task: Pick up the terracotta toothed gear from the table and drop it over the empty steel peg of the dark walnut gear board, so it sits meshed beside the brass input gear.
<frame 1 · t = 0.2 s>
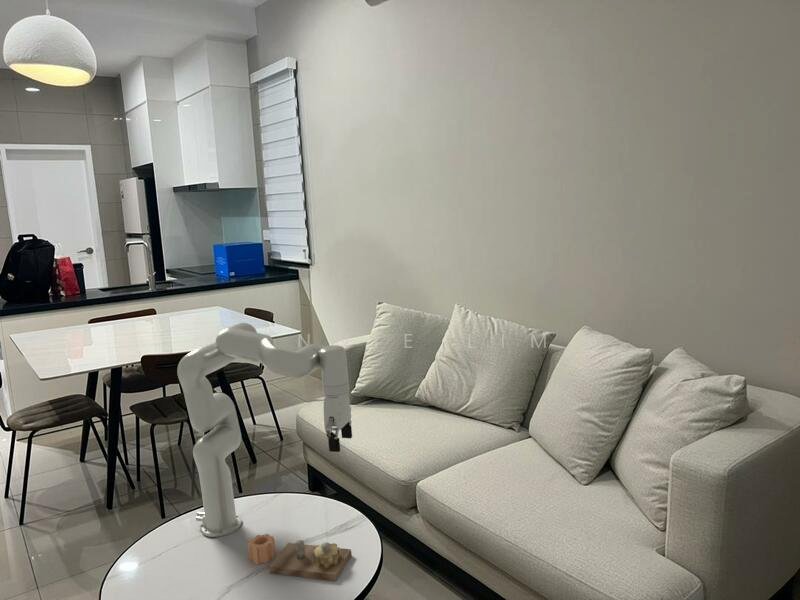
hand: (341, 444, 179), 31 cm above the table, fingers open, 9 cm apart
gear board: (311, 564, 173), on the table
loose gear: (262, 556, 178), on the table
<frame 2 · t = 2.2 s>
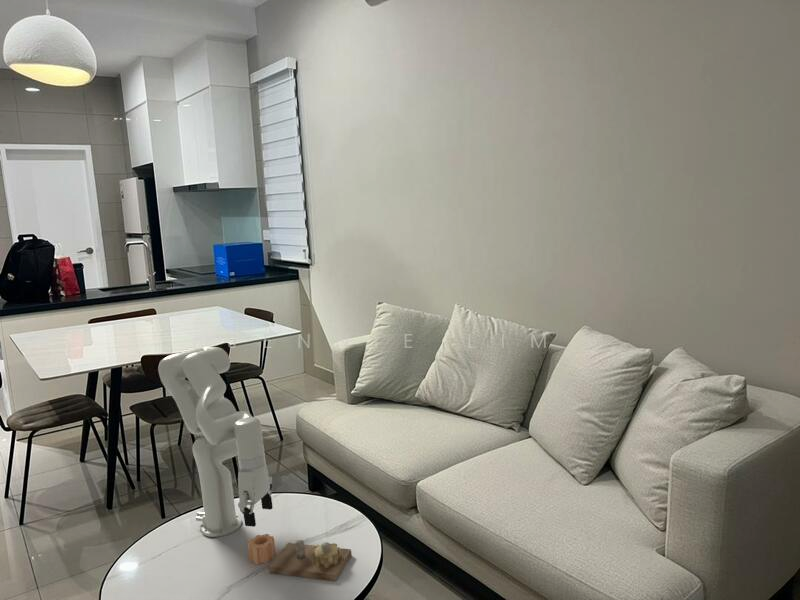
hand: (259, 517, 176), 13 cm above the table, fingers open, 9 cm apart
nothing on the table moved.
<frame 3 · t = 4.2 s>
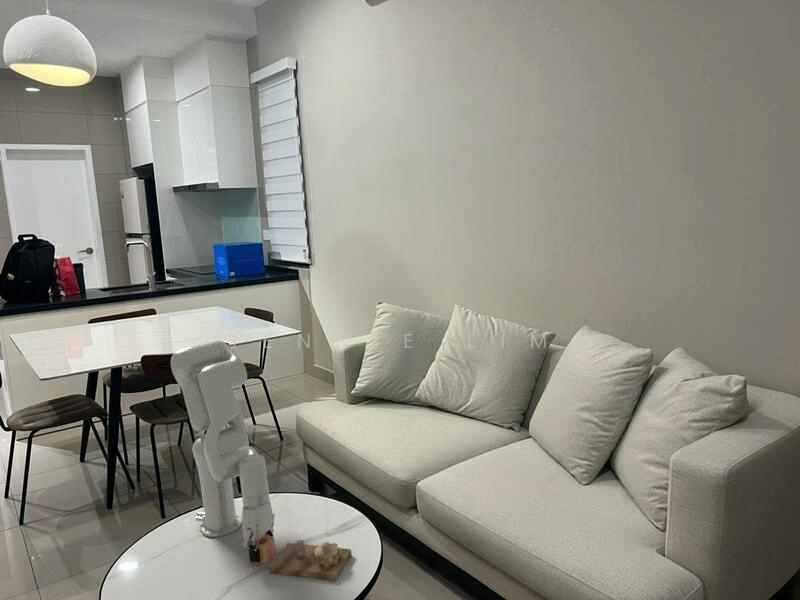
hand: (262, 553, 178), 1 cm above the table, fingers closed on loose gear, 7 cm apart
loose gear: (262, 556, 178), on the table, touching gripper
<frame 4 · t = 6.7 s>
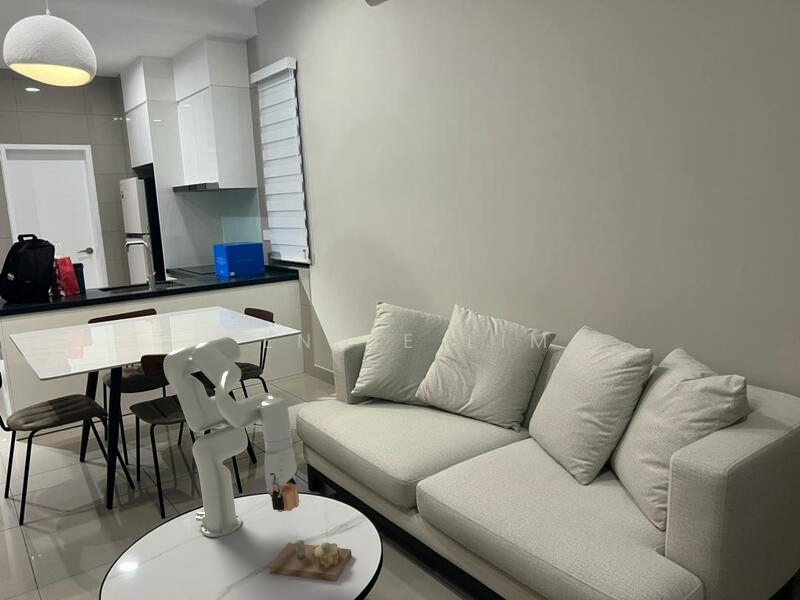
hand: (285, 501, 172), 19 cm above the table, fingers closed on loose gear, 7 cm apart
loose gear: (286, 505, 172), point 18 cm above the table, touching gripper
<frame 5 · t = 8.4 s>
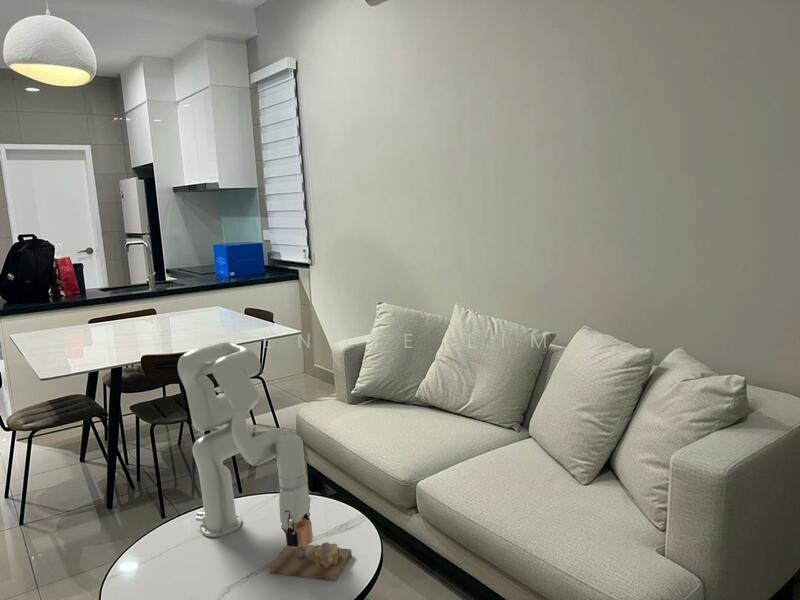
hand: (299, 537, 172), 8 cm above the table, fingers closed on loose gear, 7 cm apart
loose gear: (299, 540, 173), point 7 cm above the table, touching gripper
when the fingers open (4 cm above the table, at t = 9.6 s): loose gear drops 1 cm, resting on gear board.
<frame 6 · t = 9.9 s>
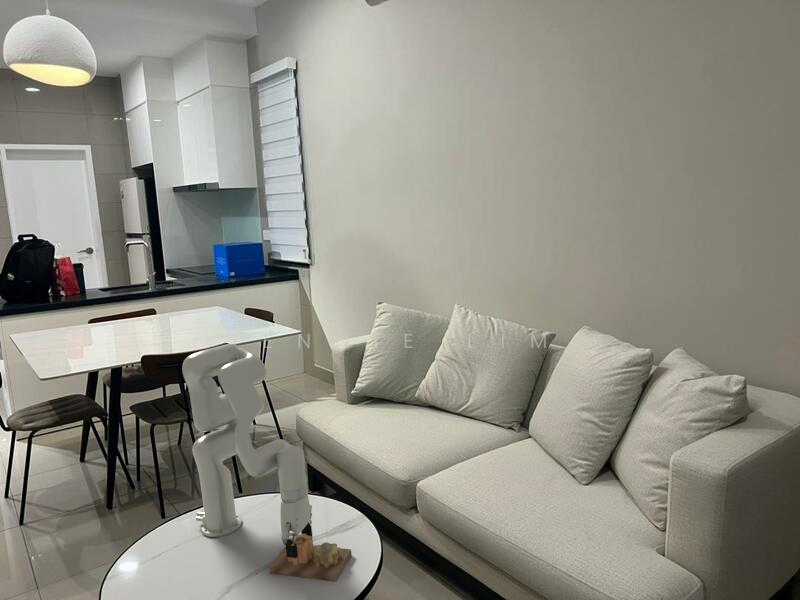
hand: (300, 547, 173), 5 cm above the table, fingers open, 9 cm apart
loose gear: (300, 556, 173), point 2 cm above the table, touching gear board
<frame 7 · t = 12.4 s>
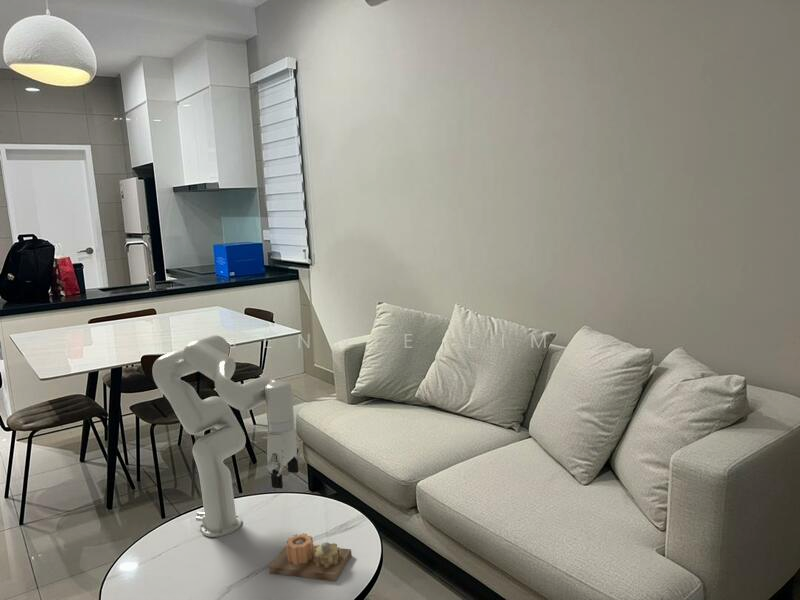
hand: (285, 479, 178), 22 cm above the table, fingers open, 9 cm apart
nothing on the table moved.
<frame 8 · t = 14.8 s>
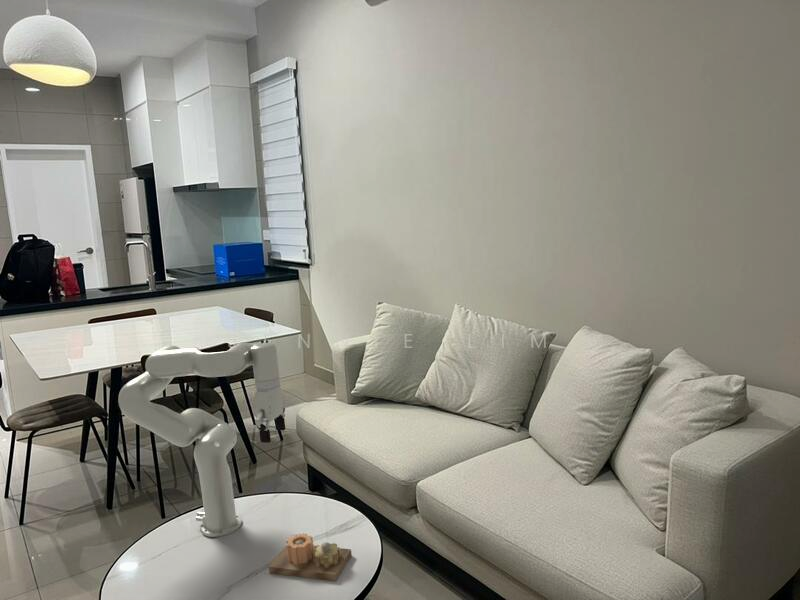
hand: (273, 435, 190), 30 cm above the table, fingers open, 9 cm apart
nothing on the table moved.
at the end: loose gear 0.0 cm from the target spot on the gear board, point 2.0 cm above the gear board's base; loose gear tilted 0°; the gripper is holding nothing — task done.
